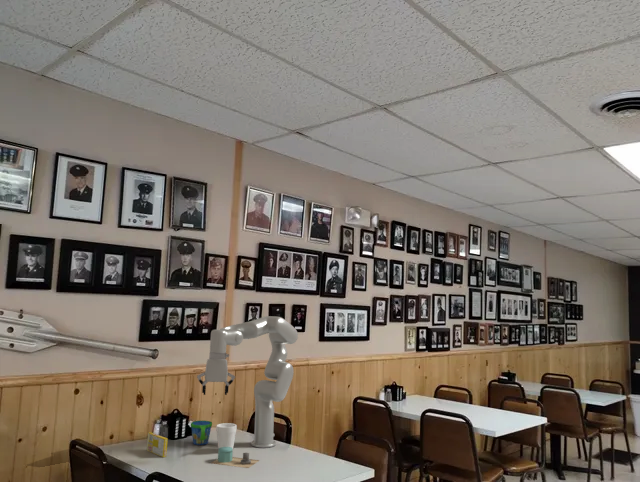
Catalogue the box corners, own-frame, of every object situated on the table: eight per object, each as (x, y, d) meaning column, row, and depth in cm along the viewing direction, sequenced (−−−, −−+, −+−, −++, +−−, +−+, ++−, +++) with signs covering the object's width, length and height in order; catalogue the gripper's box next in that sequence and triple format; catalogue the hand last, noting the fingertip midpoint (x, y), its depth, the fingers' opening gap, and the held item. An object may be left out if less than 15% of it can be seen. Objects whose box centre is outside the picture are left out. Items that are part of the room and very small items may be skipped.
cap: (221, 457, 235) (222, 446, 236) (234, 459, 233) (235, 447, 234) (215, 461, 229) (215, 449, 230) (228, 463, 228) (228, 451, 228)
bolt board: (223, 459, 238) (223, 446, 239) (259, 463, 233) (260, 450, 233) (210, 466, 227) (210, 453, 227) (248, 471, 221) (248, 458, 222)
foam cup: (218, 457, 240) (219, 428, 242) (212, 452, 248) (213, 424, 250) (238, 455, 245) (239, 426, 246) (231, 450, 253) (233, 422, 254)
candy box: (167, 457, 240) (168, 438, 241) (162, 457, 238) (163, 439, 239) (150, 449, 251) (151, 431, 252) (146, 450, 250) (147, 432, 251)
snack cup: (211, 447, 257) (212, 425, 259) (189, 448, 255) (190, 426, 256) (210, 439, 273) (211, 419, 274) (189, 440, 270) (190, 419, 271)
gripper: (235, 356, 249) (233, 393, 247) (198, 355, 245) (195, 393, 243) (237, 357, 242) (234, 395, 240) (198, 356, 238) (195, 395, 235)
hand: (215, 394), depth 241 cm, fingers open, 9 cm apart
